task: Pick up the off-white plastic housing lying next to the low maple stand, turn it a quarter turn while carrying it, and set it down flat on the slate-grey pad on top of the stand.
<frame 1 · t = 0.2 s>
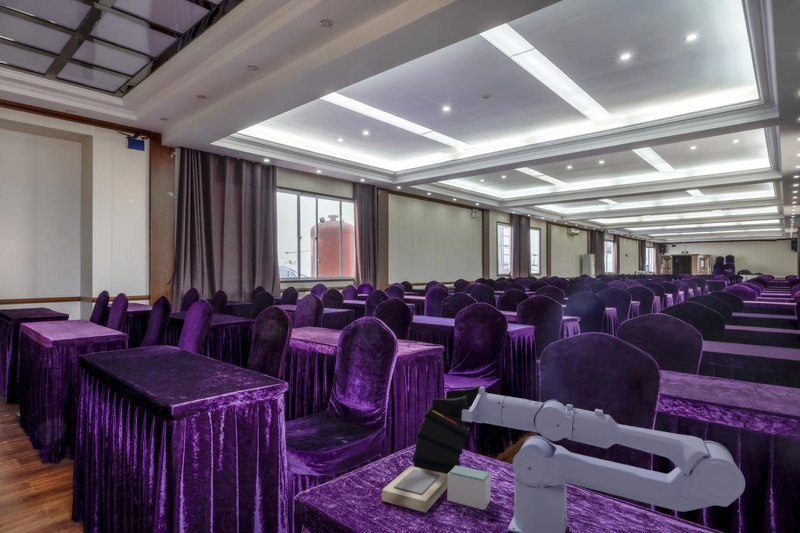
hand: (440, 399, 94), 21 cm above the table, tool horizontal, fingers open, 7 cm apart
housing: (468, 501, 94), on the table
stand: (417, 492, 97), on the table
magazine: (440, 472, 108), on the table
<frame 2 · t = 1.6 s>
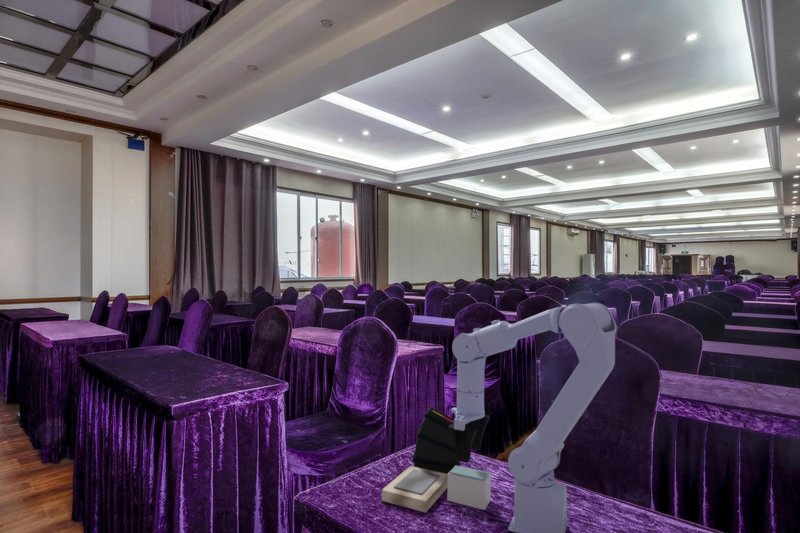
hand: (469, 455, 95), 9 cm above the table, tool pointing down, fingers open, 7 cm apart
nothing on the table moved.
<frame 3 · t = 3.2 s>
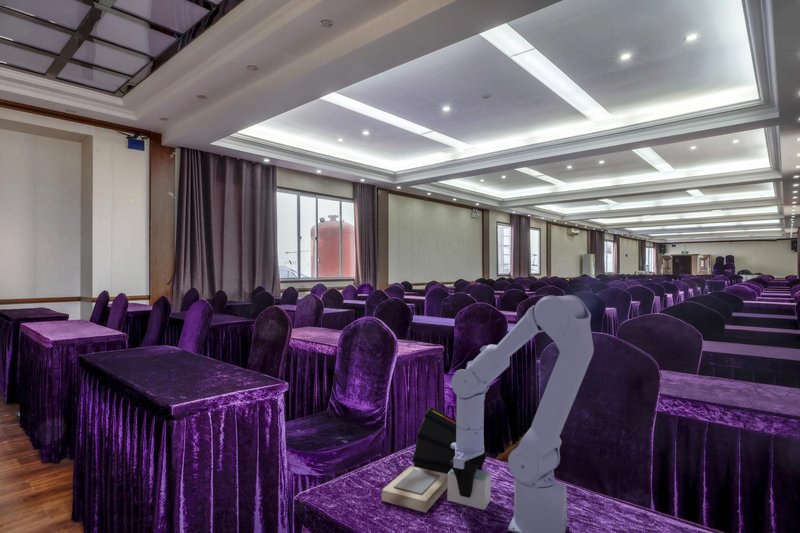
hand: (469, 491, 94), 2 cm above the table, tool pointing down, fingers closed on housing, 4 cm apart
housing: (468, 500, 94), on the table, touching gripper
everything else where it was.
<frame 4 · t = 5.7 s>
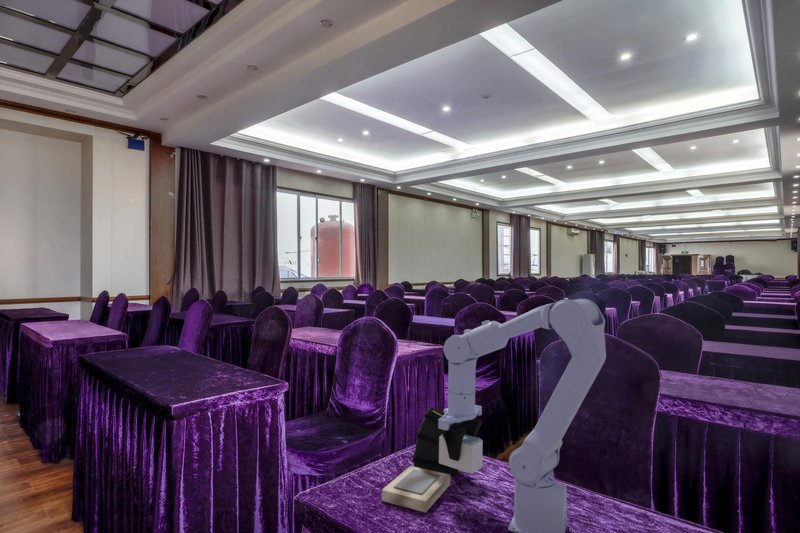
hand: (460, 455, 95), 9 cm above the table, tool pointing down, fingers closed on housing, 4 cm apart
housing: (460, 465, 95), point 7 cm above the table, touching gripper
everything else where it was.
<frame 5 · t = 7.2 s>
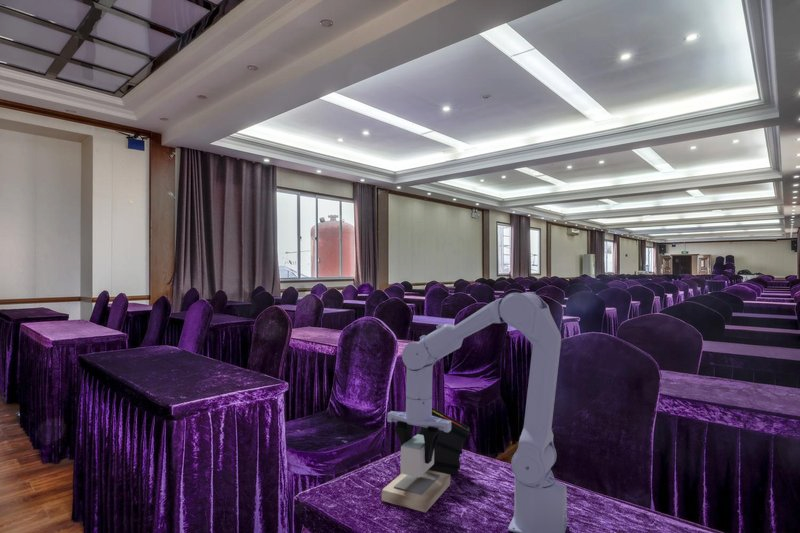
hand: (417, 459, 98), 7 cm above the table, tool pointing down, fingers closed on housing, 4 cm apart
housing: (417, 468, 98), point 5 cm above the table, touching gripper
everything else where it was.
when the fingers open (5 cm above the table, at t = 8.4 s): housing stays where it is, resting on stand.
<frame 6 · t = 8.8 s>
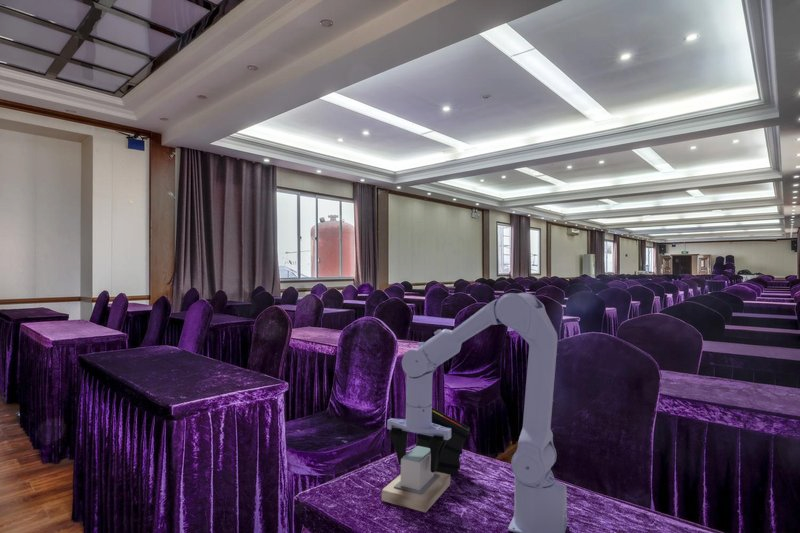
hand: (417, 467, 98), 5 cm above the table, tool pointing down, fingers open, 7 cm apart
housing: (417, 480, 97), point 2 cm above the table, touching stand
everything else where it was.
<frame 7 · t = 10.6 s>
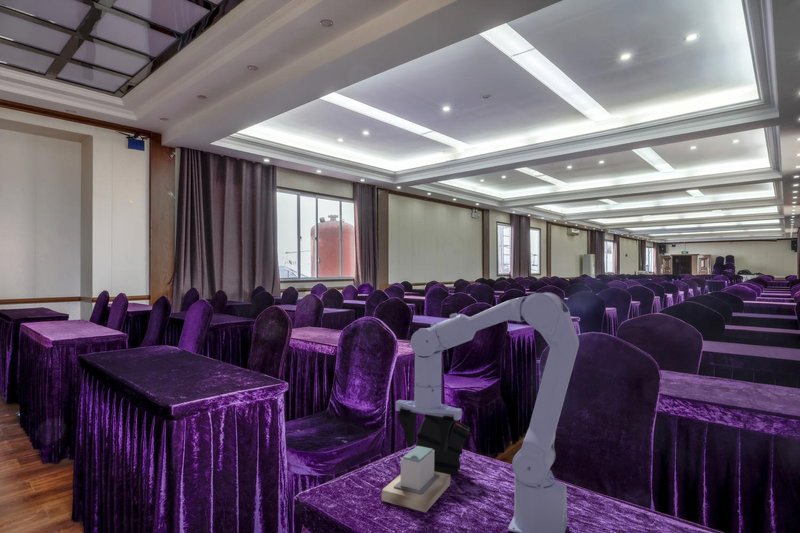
hand: (427, 448, 95), 10 cm above the table, tool pointing down, fingers open, 7 cm apart
nothing on the table moved.
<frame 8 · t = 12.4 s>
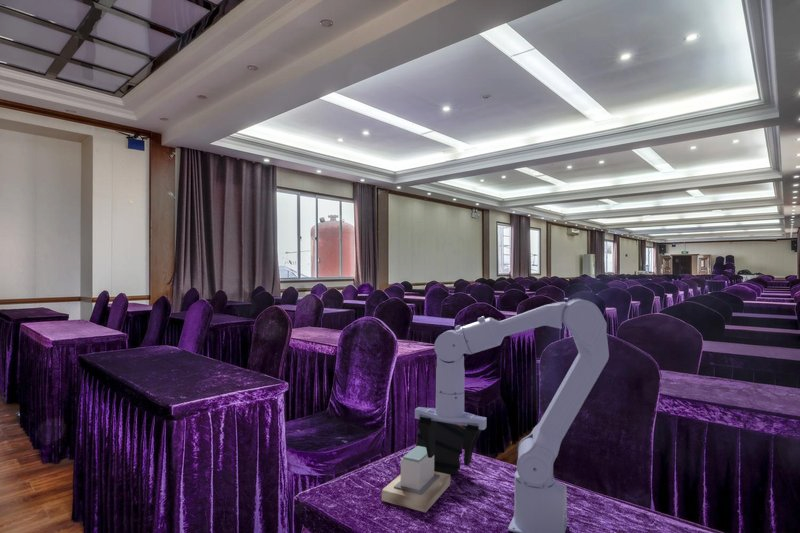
hand: (449, 459, 89), 10 cm above the table, tool pointing down, fingers open, 7 cm apart
nothing on the table moved.
at the end: housing inside the target area on the stand (0.0 cm from its centre), point 2.5 cm above the stand's base; housing tilted 0°; the gripper is holding nothing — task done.
